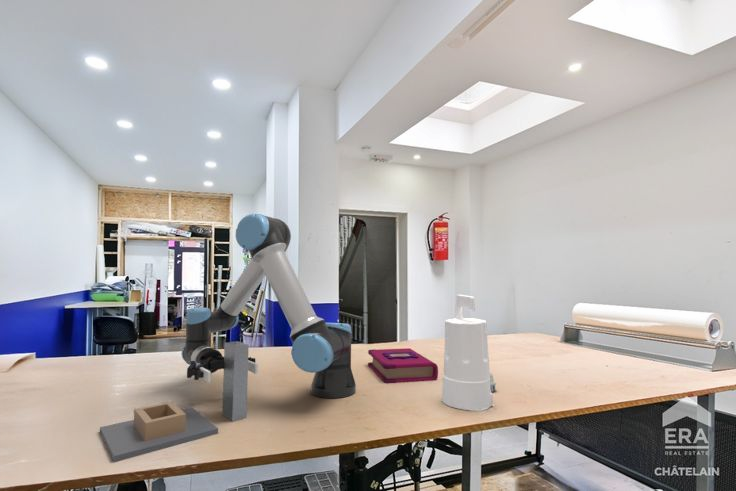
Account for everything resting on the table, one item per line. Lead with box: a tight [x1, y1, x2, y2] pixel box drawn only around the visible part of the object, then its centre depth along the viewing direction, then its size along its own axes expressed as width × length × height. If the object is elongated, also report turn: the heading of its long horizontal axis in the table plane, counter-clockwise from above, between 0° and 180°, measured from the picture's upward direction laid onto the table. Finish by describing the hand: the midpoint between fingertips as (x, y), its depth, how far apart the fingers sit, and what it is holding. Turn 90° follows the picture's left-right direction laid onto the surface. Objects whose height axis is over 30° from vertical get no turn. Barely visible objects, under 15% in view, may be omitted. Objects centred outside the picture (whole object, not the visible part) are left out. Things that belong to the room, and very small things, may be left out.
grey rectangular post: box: [221, 340, 250, 422], centre depth 108 cm, size 4×7×20 cm, turn 42°
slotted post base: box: [99, 401, 219, 463], centre depth 96 cm, size 22×20×5 cm
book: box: [367, 347, 439, 384], centre depth 156 cm, size 21×28×8 cm
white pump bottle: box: [441, 293, 496, 412], centre depth 122 cm, size 15×15×33 cm
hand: (233, 372), depth 108 cm, fingers open, 13 cm apart
